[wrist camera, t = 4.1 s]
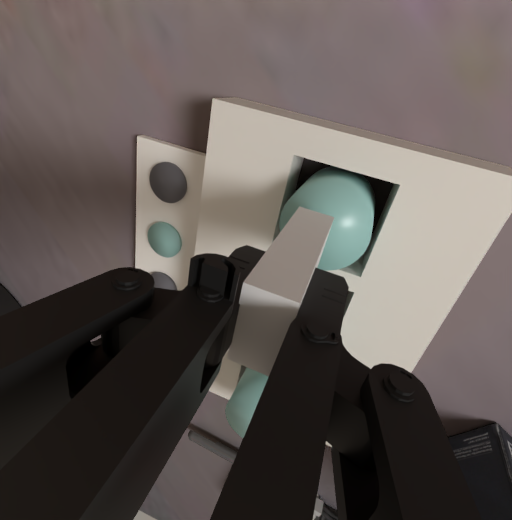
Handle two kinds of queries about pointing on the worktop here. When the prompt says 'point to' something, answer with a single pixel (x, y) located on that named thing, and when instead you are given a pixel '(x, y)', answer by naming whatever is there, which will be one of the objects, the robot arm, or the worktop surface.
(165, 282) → the pattern card
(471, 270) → the board
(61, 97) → the worktop surface
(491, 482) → the small box
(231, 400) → the button
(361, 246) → the button
